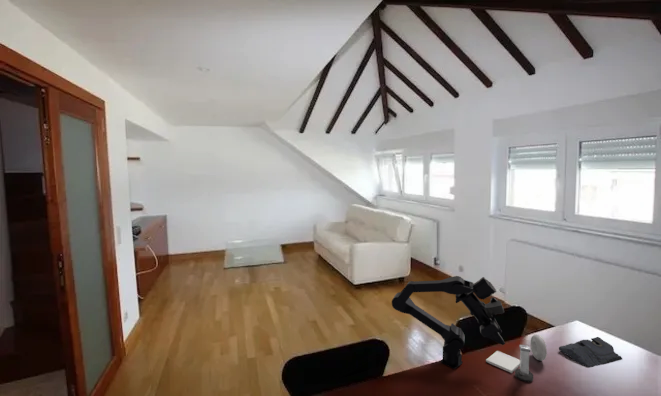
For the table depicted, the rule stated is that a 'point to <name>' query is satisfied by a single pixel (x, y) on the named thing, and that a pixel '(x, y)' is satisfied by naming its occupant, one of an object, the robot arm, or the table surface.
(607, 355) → the folded grey shirt
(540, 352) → the donut
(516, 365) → the ceramic tile
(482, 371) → the table surface
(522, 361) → the grey channel block
